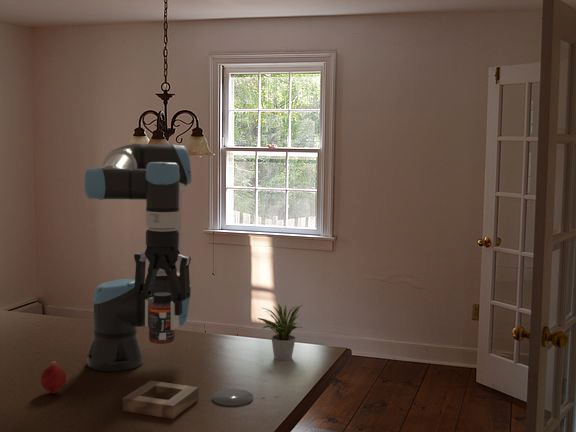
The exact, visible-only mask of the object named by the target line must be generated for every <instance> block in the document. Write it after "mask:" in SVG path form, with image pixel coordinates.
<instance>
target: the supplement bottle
mask: <svg viewBox="0 0 576 432" xmlns="http://www.w3.org/2000/svg"><path fill="white" fill-rule="evenodd" d="M153 299H154V301H153V302H152V303H151V304H150V306H149V327H148V340H149V342H150V343H152V344H156V345H157V344H158V345H165V344H170V343H172V342H173V341H175V335H176V333H175V331H176V329H175V330H171V302H172V301H171V294H170V293H166V292H159V293H155V294H154V298H153Z"/></svg>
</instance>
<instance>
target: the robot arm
mask: <svg viewBox="0 0 576 432" xmlns="http://www.w3.org/2000/svg"><path fill="white" fill-rule="evenodd" d="M189 154H190V153H189V150H188V148H187V147H186V146H184V145H180V144H173V143H171V144H160V143H159V144H157V143H155V144H154V143H153V144H152V143H132V144H126V145H124V146H120V147H117V148H115V149H113V150H111V151H110V152H108V154H107V155H106V156H105V158H104V160H103V163H102V167H99V166H97V167H89V168H87V169H86V171H85V173H84V194H85V196H86V198H87V199H90V200H92V199H93V200H99V201H102V200H137V201H138V200H139V201H140V200H143V201H145V202H146V203H145V204H146V206H145V207H146V208H145V227H146V228H147V229H146V231H145V246H146V247H145V250H144V252H138V253H134V255H133V257H134V261H135V275H134V278H121V279H120V278H119V279H115V280H109V281H106V282H102V283H100V284H98V285H97V286H96V287H95V288H94V291H93V293H94V294H93V301H92V305H93V340H92V342H91V345H90V347H89V352H88V354H87V361H86V363H87V367H88V368H90V369H92V370H95V371H99V372H100V371H101V372H120V371H121V372H122V371H127V370H132V369H135V368H138V367H140V366H141V365H143V363H144V353H143V351H142V347H141V345H140V341H139V338H138V335H137V334H138V332H137V330H138V328H139V327H142V328H143V327H145V328H149V306H150V304H151V303H152V302H153V301H154V299H153V298H154V294H155V293H159V292H166V293H170V294H171V301H172V302H171V330H175V331H176V329H179V327H180V326H184V325H185V323H187V321H188V317H189V315H188V313H189V307H190V301H191V291H192V284H190V283H191V282H190V279H191V278H190V264H191V260H192V259H191V256H189V255H187V256H185V255H182V194H184V193H185V192H186V190H187V189H188V188H187V185H189V184H191V183H192V170H191V160H190V156H189ZM147 261H148V263H149V264H148V267H147V274H146V262H147ZM137 327H138V328H137Z"/></svg>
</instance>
